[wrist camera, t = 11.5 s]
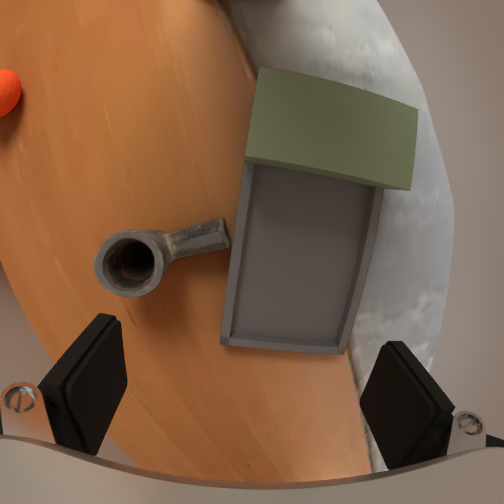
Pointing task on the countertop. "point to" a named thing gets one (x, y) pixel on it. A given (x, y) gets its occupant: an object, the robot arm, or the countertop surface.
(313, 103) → the gray tray
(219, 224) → the pipe
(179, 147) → the countertop surface
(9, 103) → the clementine
